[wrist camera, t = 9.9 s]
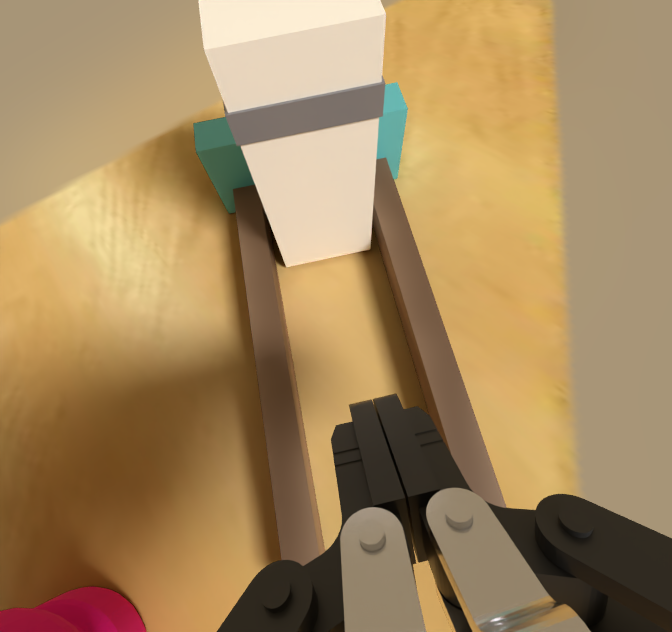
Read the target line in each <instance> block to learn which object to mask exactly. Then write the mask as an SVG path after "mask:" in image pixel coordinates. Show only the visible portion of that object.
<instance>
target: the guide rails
mask: <svg viewBox="0 0 672 632" xmlns="http://www.w3.org/2000/svg"><path fill="white" fill-rule="evenodd" d="M233 195H234V203H235V211H236V218H237V226H238V233H239V241H240V249H241V256H242V264H243V271H244V279H245V286H246V294H247V302H248V309H249V317H250V324H251V332H252V340H253V347H254V355H255V362H256V370H257V378H258V385H259V393H260V400H261V408H262V415H263V423H264V431H265V438H266V446H267V453H268V461H269V469H270V476H271V484H272V491H273V499H274V507H275V514H276V522H277V529H278V537H279V544H280V552H281V560H292V561H296V562H298V563H300V564H301V565H302V566H304V565H306V564H307V563H309V562H310V561H312V560H314V559H315V558H317V557H318V556H320V555H321V554H323V553H324V552H325V548H324V542H323V536H322V530H321V524H320V519H319V513H318V507H317V501H316V495H315V489H314V484H313V478H312V472H311V466H310V460H309V454H308V449H307V443H306V437H305V431H304V425H303V419H302V413H301V408H300V402H299V396H298V390H297V384H296V378H295V373H294V367H293V361H292V355H291V349H290V343H289V337H288V332H287V326H286V320H285V314H284V308H283V302H282V297H281V291H280V285H279V279H278V273H277V267H276V261H275V256H274V250H273V244H272V238H271V232H270V226H269V221H268V217H267V215H266V212H265V210H264V207H263V204H262V202H261V199H260V196H259V194H258V191H257V188H256V186H255V185H250V186H245V187H240V188H236V189H233ZM372 225H373V228H374V232H375V235H376V238H377V242H378V245H379V248H380V252H381V255H382V258H383V262H384V265H385V268H386V272H387V275H388V279H389V282H390V285H391V289H392V292H393V295H394V299H395V302H396V305H397V309H398V312H399V315H400V319H401V322H402V325H403V329H404V332H405V335H406V339H407V342H408V346H409V349H410V352H411V356H412V359H413V362H414V366H415V369H416V372H417V376H418V379H419V382H420V386H421V389H422V392H423V396H424V399H425V403H426V406H427V409H428V413H429V415H430V417H431V419H432V420H433V422H434V424H435V426H436V428H437V431H439V433H440V435H441V437H442V439H443V442H445V444H446V446H447V448H448V450H449V451H450V453H451V455H452V457H453V459H454V460H455V462H456V464H457V466H458V468H459V469H460V471H461V473H462V475H463V477H464V479H465V480H466V482H467V484H468V485H469V487H470V488H471V490H472V491H473V492H474V493H475V494H477V495H478V496H480V497H481V498H482V499H483V500H485V501H487V502H488V503H491V504H493V505H496V506H499V507H504V508H506V505H505V502H504V499H503V496H502V493H501V490H500V487H499V484H498V481H497V478H496V476H495V473H494V470H493V467H492V464H491V461H490V458H489V455H488V452H487V449H486V446H485V444H484V441H483V438H482V435H481V432H480V429H479V426H478V423H477V420H476V417H475V414H474V412H473V409H472V406H471V403H470V400H469V397H468V394H467V391H466V388H465V385H464V382H463V380H462V377H461V374H460V371H459V368H458V365H457V362H456V359H455V356H454V353H453V350H452V348H451V345H450V342H449V339H448V336H447V333H446V330H445V327H444V324H443V321H442V319H441V316H440V313H439V310H438V307H437V304H436V301H435V298H434V295H433V292H432V289H431V287H430V284H429V281H428V278H427V275H426V272H425V269H424V266H423V263H422V260H421V257H420V255H419V252H418V249H417V246H416V243H415V240H414V237H413V234H412V231H411V228H410V225H409V223H408V220H407V217H406V214H405V211H404V208H403V205H402V202H401V199H400V196H399V193H398V191H397V188H396V185H395V182H394V179H393V176H392V173H391V170H390V167H389V164H388V161H387V159H386V157H385V158H380V159H376V172H375V187H374V201H373V216H372Z"/></svg>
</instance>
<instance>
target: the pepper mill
mask: <svg viewBox="0 0 672 632" xmlns="http://www.w3.org/2000/svg"><path fill="white" fill-rule="evenodd" d="M0 632H146V629H145V626H144V624H143V622H142V620H141V618H140V616H139V614H138V613H137V611H136V609H135V608H134V606H133V605H132V604H131V603H130V602H129V601H127V600H126V599H125V598H124V597H122V596H121V595H120V594H119V593H117V592H115V591H112V590H110V589H106V588H100V587H83V588H79V589H74V590H71V591H68V592H66V593H64V594H61V595H59V596H57V597H55V598H53V599H51V600H49V601H47V602H45V603H43V604H41V605H39V606H37V607H35V608H33V609H30V608H12V609H7V610H3V611H0Z"/></svg>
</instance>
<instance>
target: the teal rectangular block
mask: <svg viewBox="0 0 672 632" xmlns="http://www.w3.org/2000/svg"><path fill="white" fill-rule="evenodd" d="M407 110H408V108H407V106H406V103H405V101H404V98H403V96H402V93H401V91H400V88H399V86H398V83H392V84H387V85H385V94H384V107H383V117H379V127H378V142H377V157H376V159H380V158H385V157H386V159H387V161H388V164H389V167H390V170H391V173H392V176H393V179H397V177H398V170H399V164H400V157H401V150H402V143H403V137H404V130H405V123H406V116H407ZM193 125H194V136H195V147H196V153H197V155H198V157H199V159H200V160H201V162H202V164H203V166H204V168H205V170H206V172H207V174H208V175H209V177H210V179H211V181H212V183H213V185H214V187H215V189H216V190H217V192H218V194H219V196H220V198H221V200H222V202H223V204H224V205H225V207H226V209H227V211H228V213H229V214H230V213H234V212H236V211H235V203H234V195H233V189H236V188H240V187H245V186H250V185H255V183H254V180H253V178H252V175H251V173H250V170H249V167H248V165H247V162H246V159H245V157H244V154H243V151H242V149H241V146H237V145H236V142H235V140H234V137H233V135H232V132H231V129H230V127H229V124H228V122H227V119H226V117H223V118H218V119H213V120H208V121H203V122H198V123H193Z"/></svg>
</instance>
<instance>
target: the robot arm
mask: <svg viewBox="0 0 672 632" xmlns="http://www.w3.org/2000/svg"><path fill="white" fill-rule="evenodd" d="M373 403H374V405H373ZM349 407H350V412H351V416H352V421H353V422H349V423H344V424H340V425H336V427H335V430H334V432H333V435H332V438H331V443H332V449H333V455H334V463H335V470H336V477H337V484H338V491H339V498H340V505H341V512H342V526H341V529H340V532H339V535H338V537H337V538H336V540H335V542H334V543H333V544H332V546H331V547H330V548H329V549H328V550H327V551H325V552H324V553H323V554H321V555H320V556H318V557H317V558H315V559H314V560H312V561H310V562H309V563H307V564H306V565H304V566H302V565H301V564H300V563H298V562H296V561H292V560H280V561H276V562H273V563H271V564H269V565H268V566H266V567H265V568H263V569H262V570H261V571H260V572H259V573H258V574H257V575H256V576H255V578H254V579H253V580H252V582H251V583H250V584H249V586H248V587H247V589H246V590H245V592H244V593H243V595H242V596H241V597H240V599H239V600H238V602H237V603H236V605H235V606H234V608H233V609H232V610H231V612H230V613H229V615H228V616H227V618H226V619H225V621H224V622H223V623H222V625H221V626H220V628H219V629H218V631H217V632H426V629H425V624H424V620H423V615H422V611H421V606H420V602H419V597H418V593H417V587H416V581H415V575H414V570H413V564H416V560H415V554H414V550H415V553H416V556H417V559H418V562H423V561H427V560H428V561H429V564H430V567H431V570H432V573H433V576H434V579H435V584H436V591H437V595H438V598H439V601H440V603H441V606H442V608H443V611H444V613H445V616H446V618H447V620H448V623H449V625H450V628H451V630H452V632H672V538H669V537H667V536H665V535H663V534H660V533H658V532H656V531H654V530H652V529H649V528H647V527H645V526H643V525H641V524H638V523H636V522H634V521H632V520H629V519H627V518H625V517H623V516H620V515H618V514H616V513H614V512H611V511H609V510H607V509H605V508H603V507H600V506H598V505H596V504H594V503H592V502H589V501H587V500H585V499H582V498H580V497H577V496H573V495H567V494H556V495H551V496H548V497H546V498H544V499H543V500H542V501H540V503H539V504H538V505H537V508H536V510H526V509H512V508H504V507H499V506H496V505H493V504H491V503H488V502H487V501H485V500H483V499H482V498H481V497H480V496H478V495H477V494H475V493H474V492H473V491H472V490H471V488H470V487H469V485H468V484H467V482H466V480H465V479H464V477H463V475H462V473H461V471H460V469H459V468H458V466H457V464H456V462H455V460H454V459H453V457H452V455H451V453H450V451H449V450H448V448H447V446H446V444H445V442H443V439H442V437H441V435H440V433H439V431H437V428H436V426H435V424H434V422H433V420H432V419H431V417H430V415H428V414H427V413H426V412H424V411H423V410H422V409H420V408H419V407H418V406H416V407H412V408H408V409H403V407H402V405H401V403H400V401H399V398H398V396H397V395H396V394H392V395H388V396H384V397H380V398H375V399H373V402H372V400H367V401H363V402H359V403H354V404H350V405H349ZM413 547H414V548H413Z"/></svg>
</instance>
